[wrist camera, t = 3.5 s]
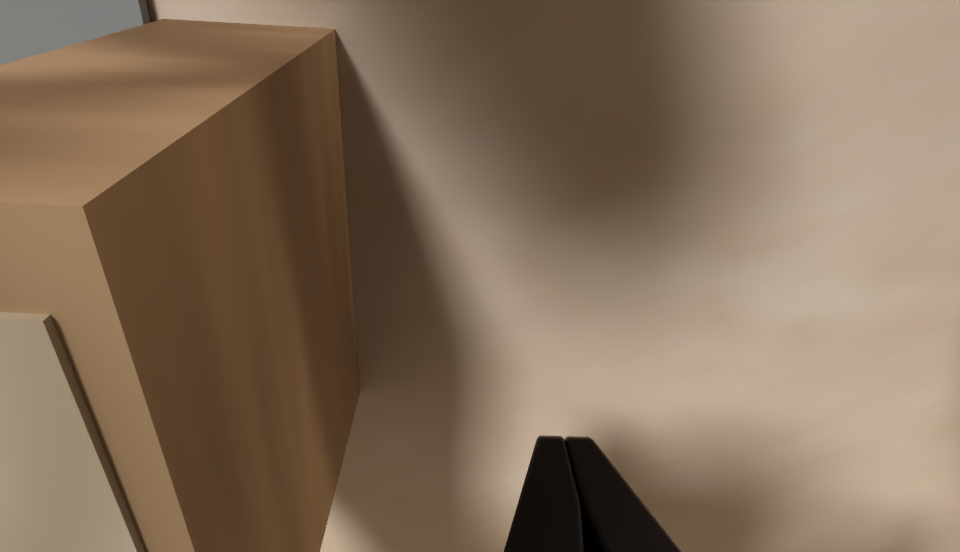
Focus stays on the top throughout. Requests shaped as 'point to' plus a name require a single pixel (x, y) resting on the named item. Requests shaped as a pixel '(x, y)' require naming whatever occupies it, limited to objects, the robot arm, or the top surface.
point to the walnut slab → (174, 292)
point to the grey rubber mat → (62, 23)
